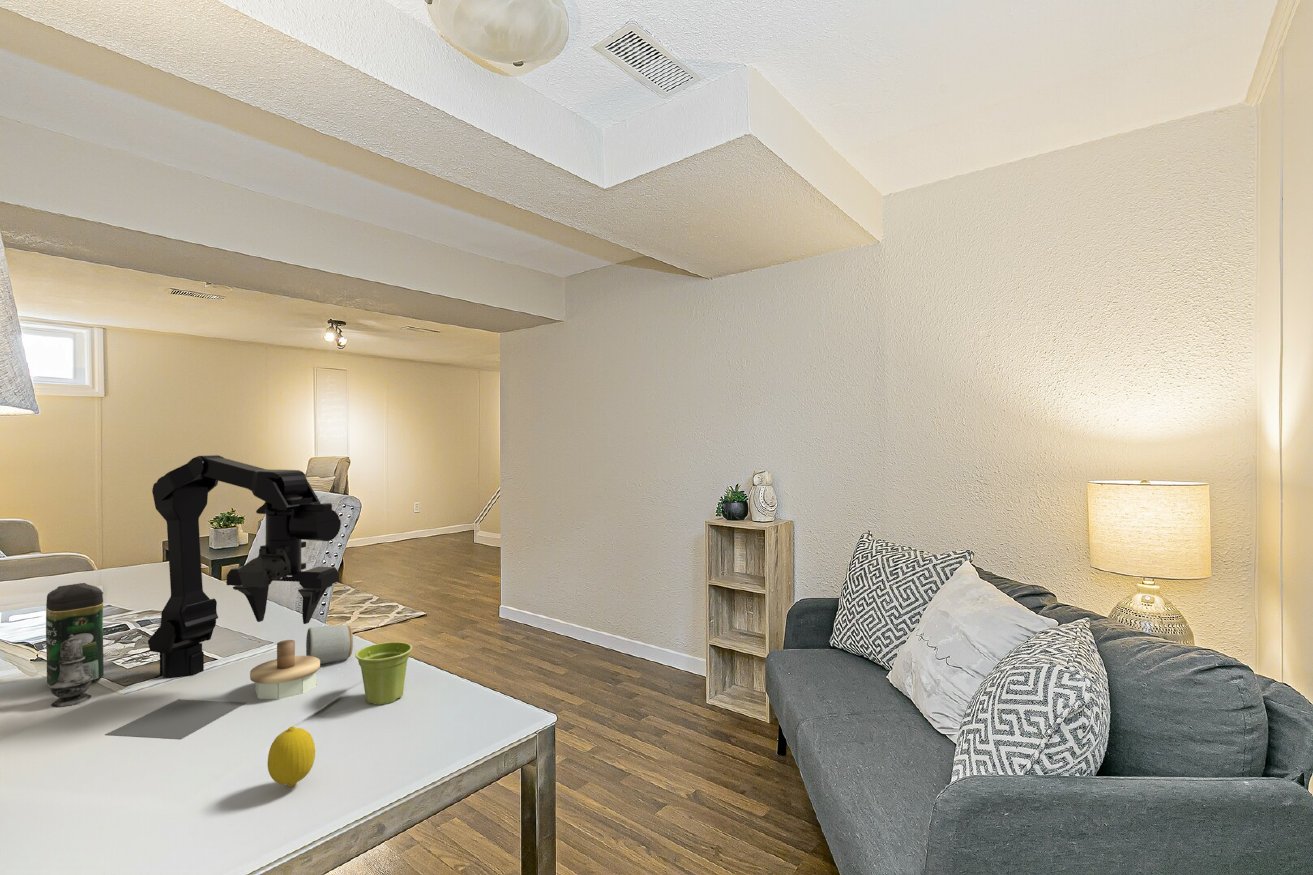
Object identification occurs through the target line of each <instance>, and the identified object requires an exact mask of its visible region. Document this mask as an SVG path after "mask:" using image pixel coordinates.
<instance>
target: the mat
mask: <svg viewBox="0 0 1313 875" xmlns="http://www.w3.org/2000/svg"><path fill="white" fill-rule="evenodd" d="M245 704H247V702H244V701H243V702H242V701H223V700H202V699H184V698H182V699H181V698H180V699H179V698H178V699H176V700H174V701H172V702H170V703H168V704H166V705H163V706H161V707H159V708H157V709H155V710H152V711H151V712H149V713H147V714H144V715H142V716H141V717H138V718H137V719H134V720H132V721H130V722H128V723H125V724H123V725H122V726H120V727H118V728H115V729H113V730H112V731H110V732H107V733H105V734H104V736H114V737H115V736H117V737H131V738H132V737H133V738H150V739H151V738H152V739H170V740H182V739H185V738H186V737H188V736H190V735H192V734H193V733H196V732H197V731H199V730H201V729H202V728H204V727H206V726H208V725H210V724H212V723H213V722H215V721H217V720H219V719H220V718H222V717H224V716H226V715H228V714H229V713H232V712H233V711H235V710H236V709H238V708H240V707H242V706H244V705H245Z"/></svg>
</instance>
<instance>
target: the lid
mask: <svg viewBox="0 0 1313 875" xmlns="http://www.w3.org/2000/svg"><path fill="white" fill-rule="evenodd" d="M295 650H296V642H295V640H294V639H286V640H281V641H278V642H277V643H276V658H275V659H271V660H267V661H265V662H263V663H259V664H258V665H256V666H254V667H253V668H252V669H251V670H250V672H249V679H250V681H251V682H253V683H262V684H273V683H282V682H288V681H293V680H297V679H300V678H303V677H306V676H309V675H311V674H313V673H315V672H316V673H317V671H319V669H320V668H321V664H320V659H318V658H316V657H313V656H306V655H295V654H296V651H295Z"/></svg>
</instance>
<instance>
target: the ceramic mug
mask: <svg viewBox="0 0 1313 875" xmlns="http://www.w3.org/2000/svg"><path fill="white" fill-rule="evenodd" d="M305 639H306V640H305V641H306V642H305V652H306V655H305V656H313V657H316V658H318V659H320V665H324V664H329V663H335V662H341V661H344V660H347V659H349V658H350V657H351V656H352V653H353V648H354V635H353V630H352V628H351V626H350V625H348V624H337V625H336V624H335V625H324V626H314V627H313V626H312V627H311V626H310V627H308V629H307V631H306V638H305Z"/></svg>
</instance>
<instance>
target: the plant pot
mask: <svg viewBox="0 0 1313 875" xmlns="http://www.w3.org/2000/svg"><path fill="white" fill-rule="evenodd" d="M412 650H413V645H412V644H410V643H408V642H405V641H387V642H380V643H375V644H371V645H367V646H365V647H362V648H360V649H359V650H358V651H356V652H355V654H354V655H355V657H354V658H356V660H357V661H358V665H359V667H360V669H361V675H362V676H361V677H362V683H363V688H364V696H365V700H366V703H368V704H371V703H372V704H375V705H379V706H380V705H384V704H391V703H393V702H395V701H396V700H397V699H401V698H402V697H403V696H404V690H405V681H406V674H407V673H406V672H407V666H408V660H409V658H410V653H411V652H412Z"/></svg>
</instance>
